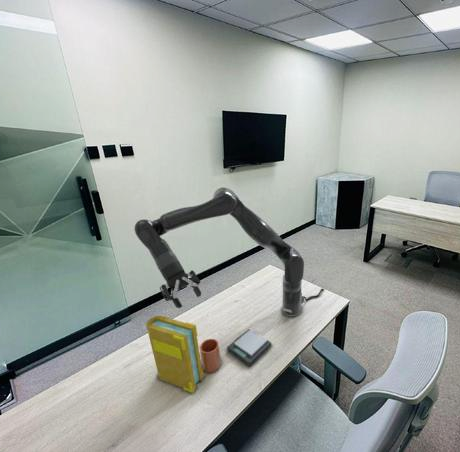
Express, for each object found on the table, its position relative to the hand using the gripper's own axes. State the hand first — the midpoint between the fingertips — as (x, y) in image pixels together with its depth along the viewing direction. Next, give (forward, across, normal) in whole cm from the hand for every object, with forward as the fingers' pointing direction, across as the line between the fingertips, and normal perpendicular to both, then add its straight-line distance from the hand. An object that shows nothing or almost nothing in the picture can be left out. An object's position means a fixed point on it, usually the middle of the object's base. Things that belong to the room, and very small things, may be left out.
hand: (190, 301), depth 101 cm
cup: (+25, 0, +10) cm, 27 cm away
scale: (+30, +14, +5) cm, 33 cm away
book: (+22, -11, +15) cm, 29 cm away
